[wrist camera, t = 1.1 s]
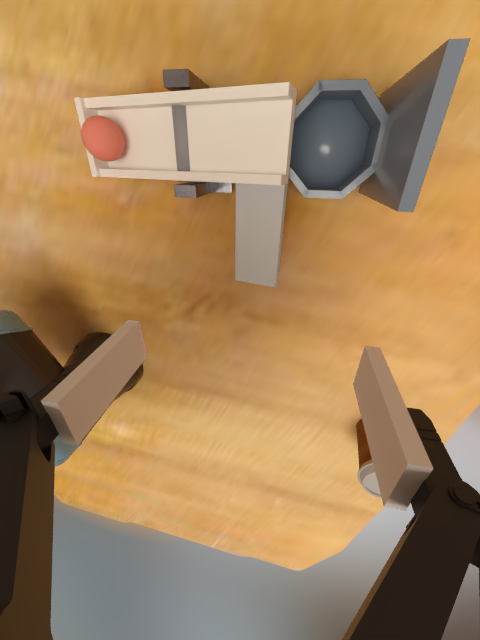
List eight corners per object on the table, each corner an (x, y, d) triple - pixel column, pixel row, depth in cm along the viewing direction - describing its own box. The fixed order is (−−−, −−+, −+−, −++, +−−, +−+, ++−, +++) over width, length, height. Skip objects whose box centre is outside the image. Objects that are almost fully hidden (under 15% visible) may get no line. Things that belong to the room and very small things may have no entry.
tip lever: (132, 257, 39) (113, 265, 36) (101, 101, 30) (73, 95, 27) (279, 282, 32) (270, 294, 29) (298, 87, 23) (288, 76, 20)
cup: (280, 192, 37) (270, 209, 23) (289, 92, 31) (282, 40, 18) (368, 195, 35) (412, 216, 22) (393, 91, 30) (472, 31, 16)
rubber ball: (112, 161, 31) (79, 161, 28) (103, 118, 29) (67, 113, 26) (135, 162, 29) (103, 161, 26) (128, 116, 27) (92, 111, 24)
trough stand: (193, 190, 39) (160, 199, 30) (186, 92, 33) (143, 65, 24) (233, 191, 38) (212, 201, 29) (233, 91, 32) (207, 63, 23)
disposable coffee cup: (367, 403, 53) (383, 461, 43) (408, 423, 54) (434, 484, 43) (339, 429, 58) (347, 485, 48) (377, 446, 59) (393, 506, 48)
